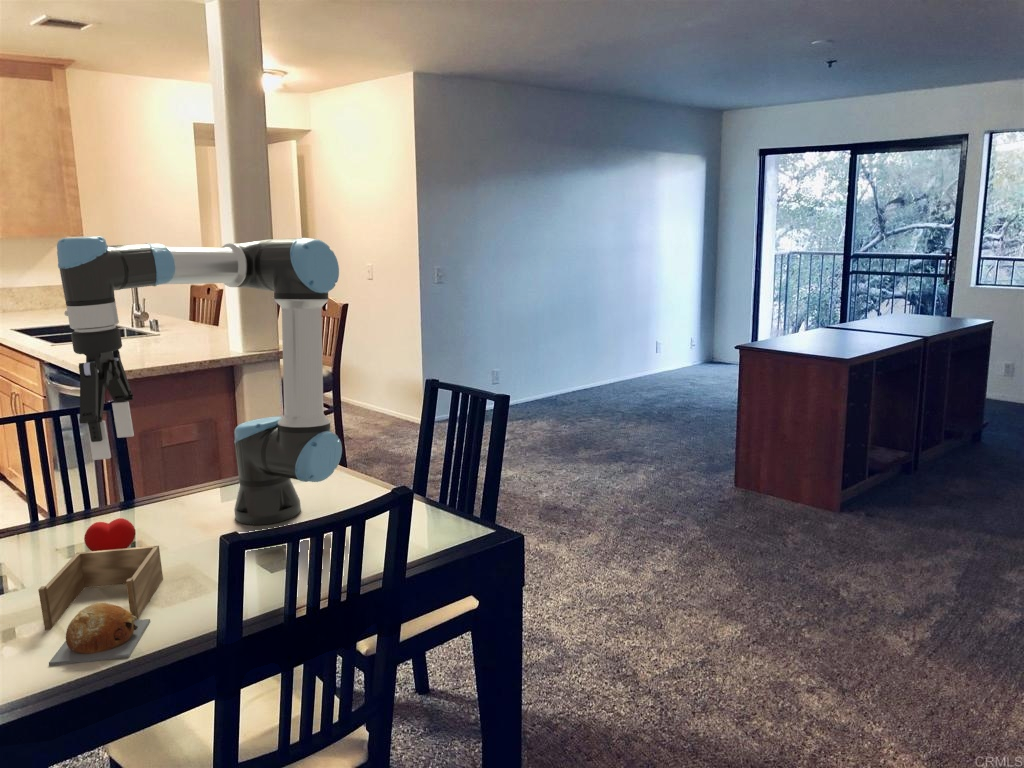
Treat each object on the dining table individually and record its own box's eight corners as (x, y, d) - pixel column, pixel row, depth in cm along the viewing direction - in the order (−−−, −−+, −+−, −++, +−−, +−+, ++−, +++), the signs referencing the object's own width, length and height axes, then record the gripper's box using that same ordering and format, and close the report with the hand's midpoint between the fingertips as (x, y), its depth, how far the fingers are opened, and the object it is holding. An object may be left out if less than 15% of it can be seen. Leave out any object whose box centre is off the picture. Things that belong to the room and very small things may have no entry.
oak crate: (163, 578, 157) (158, 542, 156) (136, 621, 141) (130, 581, 139) (82, 586, 155) (76, 549, 154) (44, 630, 138) (38, 589, 137)
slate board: (150, 621, 140) (149, 618, 140) (128, 657, 129) (128, 654, 129) (77, 628, 139) (77, 626, 139) (49, 665, 127) (48, 662, 127)
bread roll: (99, 644, 139) (72, 607, 137) (151, 617, 139) (125, 580, 137) (73, 676, 129) (44, 636, 128) (129, 647, 129) (101, 607, 128)
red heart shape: (89, 579, 158) (82, 531, 157) (89, 566, 165) (82, 520, 163) (140, 568, 163) (134, 522, 161) (138, 556, 169) (132, 511, 167)
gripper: (95, 320, 148) (113, 430, 153) (42, 341, 124) (65, 471, 129) (138, 317, 149) (155, 426, 154) (94, 338, 125) (115, 466, 130)
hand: (114, 447), depth 142 cm, fingers open, 13 cm apart
